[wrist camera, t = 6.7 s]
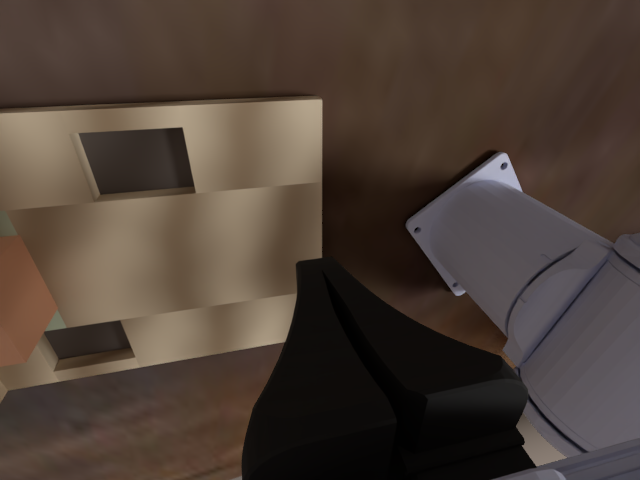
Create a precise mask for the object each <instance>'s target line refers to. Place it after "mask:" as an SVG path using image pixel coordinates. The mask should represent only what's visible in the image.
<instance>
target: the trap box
mask: <svg viewBox="0 0 640 480" xmlns="http://www.w3.org/2000/svg"><path fill="white" fill-rule="evenodd" d="M14 235H20V236H21V238H22V240H23V242H24V244H25V246H26V248H27V250H28V251H29V253H30V255H31V257H32V259H33V261H34V263H35V265H36V267H37V269H38V271H39V272H40V274H41V276H42V278H43V280H44V282H45V284H46V286H47V288H48V290H49V292H50V293H51V295H52V297H53V299H54V301H55V303H56V305H57V307H58V309H57V311H56V313H55V314H54V316H53V318H52V319H51V321H50V323H49V324H48V326H47V328H46V330H45V331H44V333H43V335H42V336H41V338H40V340H39V341H38V343H37V345H36V347H35V348H34V350H33V352H32V353H31V355H30V357H29V358H28V360H27V362H26V363H21V364H14V365H8V366H2V367H0V403H1V401H2V400H3V398H4V396H5V395H6V393H7V391H9V390H14V389H20V388H26V387H31V386H37V385H43V384H48V383H54V382H60V381H66V380H71V379H77V378H83V377H88V376H94V375H100V374H105V373H111V372H117V371H122V370H128V369H134V368H139V367H145V366H151V365H156V364H162V363H168V362H173V361H179V360H185V359H190V358H196V357H202V356H207V355H213V354H219V353H224V352H230V351H236V350H241V349H247V348H253V347H258V346H264V345H270V344H275V343H281V342H285V341H286V338H287V335H288V332H289V329H290V325H291V322H292V318H293V313H294V308H295V303H296V298H297V281H296V263H297V262H298V261H303V260H310V259H317V258H322V99H321V98H320V97H318V96H317V95H315V96H291V97H267V98H243V99H219V100H196V101H172V102H148V103H124V104H100V105H76V106H52V107H28V108H4V109H0V237H4V236H14Z"/></svg>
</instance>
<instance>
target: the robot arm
mask: <svg viewBox="0 0 640 480" xmlns="http://www.w3.org/2000/svg"><path fill="white" fill-rule="evenodd" d="M503 163H504V164H503ZM502 164H503V166H502V167H501V165H502ZM417 227H418V229H417V230H416V231H414V230H415V228H417ZM406 228H407V230H408V231H409V232H410V234H411V235H412V236H413V238H414V239H415V241H416V242H417V243H418V245H419V246H420V248H421V249H422V250H423V252H424V253H425V254H426V256H427V257H428V259H429V260H430V261H431V263H432V264H433V266H434V267H435V268H436V270H437V271H438V272H439V274H440V275H441V277H442V278H443V279H444V281H445V282H446V283H447V285H448V286H449V288H450V289H451V290H452V292H453V293H454V294H455V295H456V296H459V295H462V294H463V293H465V292H467V293H468V294H469V296H470V297H471V298H472V299H473V300H474V301H475V302H476V303H477V304H478V306H479V307H480V308H481V309H482V310H483V311H484V312H485V313H486V314H487V316H488V317H489V318H490V319H491V320H492V321H493V322H494V323H495V324H496V325H497V327H498V328H499V329H500V330H501V331H502V332H503V333H504V334H505V335H506V337H507V338H508V341H507V343H506V345H505V346H504V348H503V351H504V352H505V354H506V355H507V356H508V357H509V358H510V359H511V361H512V362H513V363H514V364H515V365H516V367H515V368H514V369H512V368H511V367H510V366H509V365H508V364H507V363H506V362H505V360H504V359H503V358H502V357H501V356H499V355H496V354H493V353H490V352H487V351H484V350H481V349H478V348H475V347H472V346H469V345H467V344H464V343H462V342H459V341H457V340H454V339H452V338H450V337H447V336H445V335H443V334H440V333H438V332H436V331H434V330H432V329H430V328H428V327H426V326H424V325H422V324H420V323H418V322H416V321H414V320H413V319H411V318H409V317H407V316H406V315H404V314H403V313H401V312H399V311H398V310H396V309H394V308H393V307H391V306H390V305H388V304H387V303H385V302H384V301H383V300H381V299H380V298H379V297H377V296H376V295H375V294H373V293H372V292H371V291H370V290H368V289H367V288H366V287H365V286H364V285H362V284H361V283H360V282H359V281H358V280H357V279H355V278H354V277H353V276H352V275H351V274H350V273H349V272H348V271H347V270H346V269H345V268H344V267H342V266H341V265H340V264H339V263H338V262H337V261H336V260H335V259H334V258H333V257H325V258H317V259H310V260H303V261H298V262H297V263H296V281H297V298H296V303H295V308H294V313H293V318H292V322H291V325H290V329H289V332H288V335H287V338H286V341H285V344H284V346H283V349H282V352H281V354H280V357H279V359H278V361H277V364H276V366H275V368H274V370H273V372H272V374H271V376H270V378H269V380H268V382H267V384H266V386H265V388H264V390H263V391H262V393H261V395H260V396H259V398H258V400H257V402H256V403H255V405H254V407H253V410H252V414H251V417H250V421H249V425H248V429H247V433H246V437H245V442H244V447H243V453H242V480H640V233H636V234H632V235H630V234H624V235H621V236H619V237H618V239H617V241H616V242H615V244H614V243H612V242H610V241H608V240H607V239H605V238H603V237H601V236H599V235H598V234H596V233H594V232H592V231H591V230H589V229H587V228H585V227H583V226H582V225H580V224H578V223H576V222H575V221H573V220H571V219H569V218H567V217H566V216H564V215H562V214H560V213H559V212H557V211H555V210H553V209H551V208H550V207H548V206H546V205H544V204H543V203H541V202H539V201H537V200H535V199H534V198H532V197H530V196H528V195H527V194H525V193H523V192H522V189H521V187H520V184H519V182H518V179H517V177H516V174H515V172H514V170H513V167H512V165H511V162H510V160H509V157H508V155H507V154H506V153H504V152H498V153H496V154H495V155H493V156H492V157H491V158H489V159H488V160H487V161H485V162H484V163H483V164H481V165H480V166H479V167H477V168H476V169H475V170H473V171H472V172H471V173H469V174H468V175H467V176H465V177H464V178H463V179H461V180H460V181H459V182H457V183H456V184H455V185H453V186H452V187H451V188H449V189H448V190H447V191H445V192H444V193H443V194H441V195H440V196H439V197H437V198H436V199H435V200H433V201H432V202H431V203H429V204H428V205H427V206H425V207H424V208H423V209H421V210H420V211H419V212H417V213H416V214H415V215H413V216H412V217H411V218H409V219H408V220H407V222H406ZM522 413H524V414H525V415H526V417H527V419H528V420H529V421H530V423H531V424H532V425H533V426H534V428H535V429H536V430H537V431H538V432H539V433H540V434H541V436H542V437H543V438H544V439H546V441H547V442H549V443H550V444H551V445H552V446H553V447H554V448H555V449H557V450H558V451H559V452H560V453H562V454H563V455H564V456H566V457H567V458H566V459H562V460H558V461H555V462H551V463H548V464H544V465H541V466H537V467H536V466H535V464H534V463H533V461H532V460H531V459H530V457H529V455H528V454H527V453H526V451H525V450H524V449H523V447H522V445H524V443H525V441H524V438H523V437H522V435H521V434H520V432H519V431H518V429H517V428H516V425H517V423H518V421H519V419H520V417H521V415H522Z"/></svg>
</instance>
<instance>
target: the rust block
mask: <svg viewBox="0 0 640 480" xmlns="http://www.w3.org/2000/svg"><path fill="white" fill-rule="evenodd" d="M57 309H58V307H57V305H56V303H55V301H54V299H53V297H52V295H51V293H50V292H49V290H48V288H47V286H46V284H45V282H44V280H43V278H42V276H41V274H40V272H39V271H38V269H37V267H36V265H35V263H34V261H33V259H32V257H31V255H30V253H29V251H28V250H27V248H26V246H25V244H24V242H23V240H22V238H21V236H20V235H14V236H4V237H0V367H2V366H8V365H14V364H21V363H26V362H27V360H28V358H29V357H30V355H31V353H32V352H33V350H34V348H35V347H36V345H37V343H38V341H39V340H40V338H41V336H42V335H43V333H44V331H45V330H46V328H47V326H48V324H49V323H50V321H51V319H52V318H53V316H54V314H55V313H56V311H57Z"/></svg>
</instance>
